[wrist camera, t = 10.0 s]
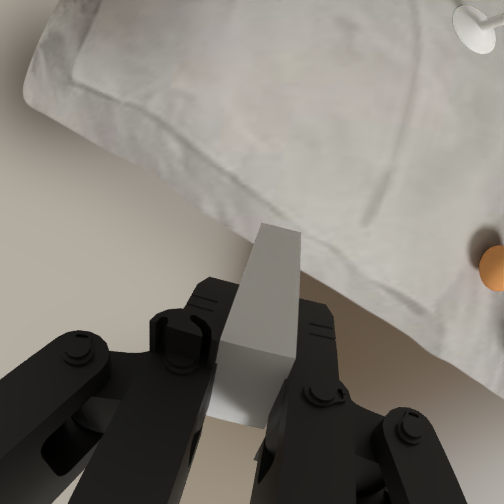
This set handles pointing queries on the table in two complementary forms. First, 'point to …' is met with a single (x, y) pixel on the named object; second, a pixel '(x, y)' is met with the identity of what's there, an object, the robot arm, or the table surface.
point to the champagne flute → (476, 28)
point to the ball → (493, 268)
